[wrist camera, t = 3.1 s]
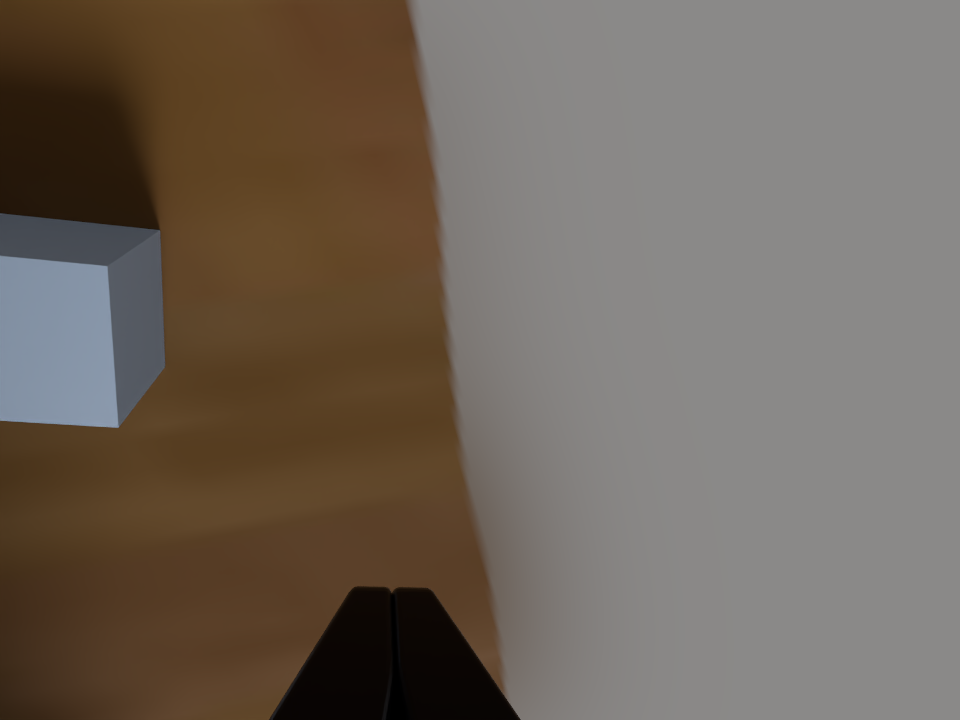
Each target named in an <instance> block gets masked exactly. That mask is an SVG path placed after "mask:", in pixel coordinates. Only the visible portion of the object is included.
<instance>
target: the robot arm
mask: <svg viewBox="0 0 960 720" xmlns="http://www.w3.org/2000/svg"><path fill="white" fill-rule="evenodd" d="M269 720H520V718H519V717H518V715H517V714H516V712H515V711H514V709H513V708H512V706H511V705H510V703H509V702H508V701H507V699H506V698H505V696H504V695H503V693H502V692H501V690H500V689H499V687H498V686H497V684H496V683H495V681H494V680H493V679H492V677H491V676H490V674H489V673H488V671H487V670H486V668H485V667H484V665H483V664H482V662H481V661H480V660H479V658H478V657H477V655H476V654H475V652H474V651H473V649H472V648H471V646H470V645H469V643H468V642H467V641H466V639H465V638H464V636H463V635H462V633H461V632H460V630H459V629H458V627H457V626H456V624H455V623H454V622H453V620H452V619H451V617H450V616H449V614H448V613H447V611H446V610H445V608H444V607H443V605H442V604H441V602H440V601H439V600H438V598H437V597H436V595H435V594H434V592H433V591H432V590H430V589H428V588H413V587H398V588H396V589H394V591H393V592H392V593H391V591H390V589H389V588H387V587H366V586H357V587H354V588H353V589H352V590H351V591H350V592H349V593H348V595H347V596H346V598H345V600H344V601H343V603H342V604H341V606H340V608H339V609H338V611H337V612H336V614H335V615H334V617H333V619H332V620H331V622H330V623H329V625H328V627H327V628H326V630H325V631H324V633H323V635H322V636H321V638H320V639H319V641H318V643H317V644H316V646H315V647H314V649H313V651H312V652H311V654H310V655H309V657H308V658H307V660H306V662H305V663H304V665H303V666H302V668H301V670H300V671H299V673H298V674H297V676H296V678H295V679H294V681H293V682H292V684H291V686H290V687H289V689H288V690H287V692H286V693H285V695H284V697H283V698H282V700H281V701H280V703H279V705H278V706H277V708H276V709H275V711H274V713H273V714H272V716H271V717H270V719H269Z"/></svg>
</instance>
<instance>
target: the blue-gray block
mask: <svg viewBox="0 0 960 720" xmlns="http://www.w3.org/2000/svg"><path fill="white" fill-rule="evenodd" d="M164 367H165V350H164V323H163V296H162V269H161V242H160V230H154V229H144V228H135V227H125V226H116V225H106V224H97V223H87V222H78V221H68V220H59V219H49V218H40V217H30V216H21V215H11V214H2V213H0V421H15V422H32V423H49V424H66V425H82V426H99V427H116V428H119V426H120V425H121V424H122V422H123V421H124V420H125V418H126V417H127V416H128V415H129V413H130V412H131V411H132V409H133V408H134V407H135V405H136V404H137V403H138V401H139V400H140V399H141V398H142V396H143V395H144V394H145V392H146V391H147V390H148V388H149V387H150V386H151V384H152V383H153V382H154V381H155V379H156V378H157V377H158V375H159V374H160V373H161V371H162V370H163V369H164Z"/></svg>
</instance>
